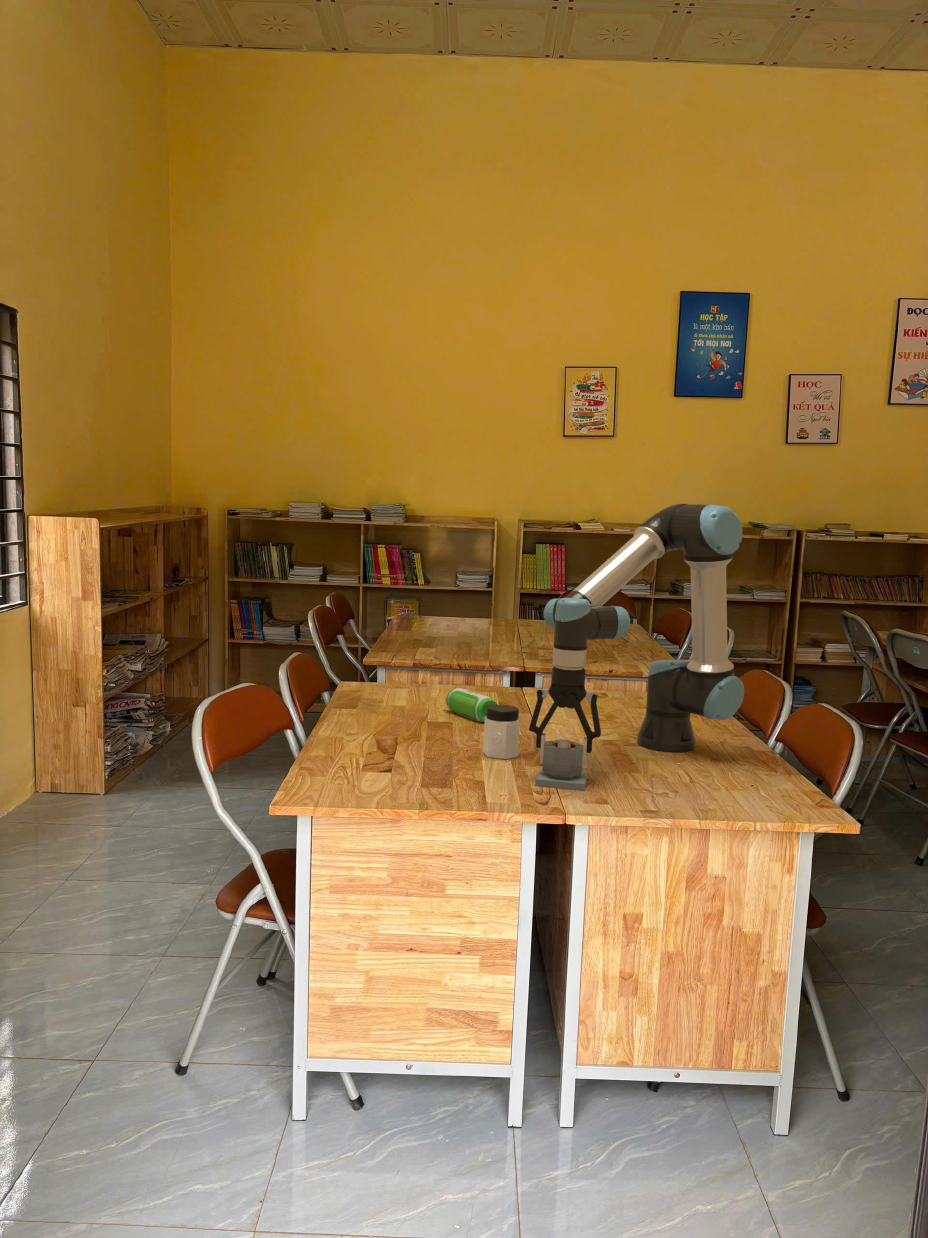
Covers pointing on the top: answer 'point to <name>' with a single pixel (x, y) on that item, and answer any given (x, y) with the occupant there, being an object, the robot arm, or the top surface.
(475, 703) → the speaker
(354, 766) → the top surface
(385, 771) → the top surface
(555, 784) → the shaft stand
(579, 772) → the tube
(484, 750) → the jar
